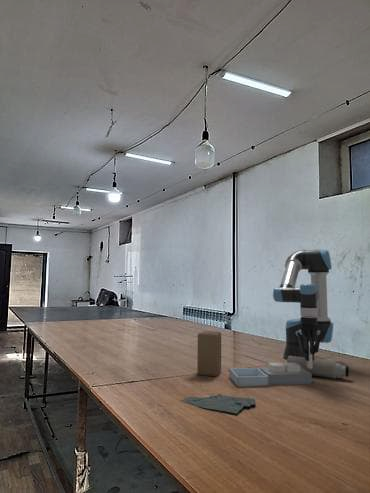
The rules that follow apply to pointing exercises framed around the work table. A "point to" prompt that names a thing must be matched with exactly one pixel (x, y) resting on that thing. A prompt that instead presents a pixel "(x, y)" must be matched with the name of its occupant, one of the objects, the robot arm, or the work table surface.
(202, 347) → the wooden block
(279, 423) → the work table surface
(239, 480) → the work table surface
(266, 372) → the board
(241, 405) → the decorative slab
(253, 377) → the tray
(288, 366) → the tile
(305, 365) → the thermos bottle
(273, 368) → the tile
